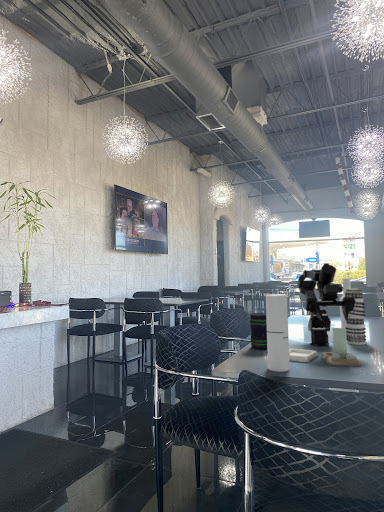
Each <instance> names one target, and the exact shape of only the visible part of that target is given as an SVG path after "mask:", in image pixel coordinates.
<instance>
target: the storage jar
mask: <svg viewBox="0 0 384 512" xmlns="http://www.w3.org/2000/svg"><path fill="white" fill-rule="evenodd" d="M249 316H250V317H249V323H250V324H249V326H250V345H251V346H250V349H251V350H254V351H264V352H266V351H267V321H266V312H253V313H250V314H249Z"/></svg>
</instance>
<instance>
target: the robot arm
mask: <svg viewBox="0 0 384 512" xmlns="http://www.w3.org/2000/svg"><path fill="white" fill-rule="evenodd" d="M336 271H337V268H336V267H335V266H334V265H332V264H330V263H329V262H328V263H327V262H324V263H323V265H322V266H321V267H320V268H312V269H304V270H303V272H302V274H301V275H300V276H299V277H298V279H297V285H296V286H297V289H298V290H299V292H300V294H303V295H304V296H305V304H304V308H305V311H306V312H309V313H310V316H309V320H308V325H307V330H308V331H309V332H310V340H311V341H310V342H309V345H312V346H319V347H324V346H325V347H326V346H328V345H330V343H329V334H328V332H331V324H332V323H331V322H332V321H331V318H330V317H329V315H328V313H327V310H326V309H322V308H323V307H325V308H326V307H327V308H328V307H329V308H330V307H331V308H332V307H335V308H336V307H339V308H340V307H342V309H343V311H342V312H343V315H344V317H345V320H346V321H347V320H348V312H350V311H352V310H353V309H354V305H355V302H356V301H355V298H354V297H343V301H339V300H337V299H338V297H339V296H338V294H342V293H343V284H342V283H336V284H333V282H334V281H335V280H334V279H335V275H336V273H337V272H336ZM307 278H308V279H307ZM316 287H317V288H316ZM315 289H316V291H317V292H318V295H319V300H318V298H317V296H316V293H315ZM321 307H322V308H321Z"/></svg>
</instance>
